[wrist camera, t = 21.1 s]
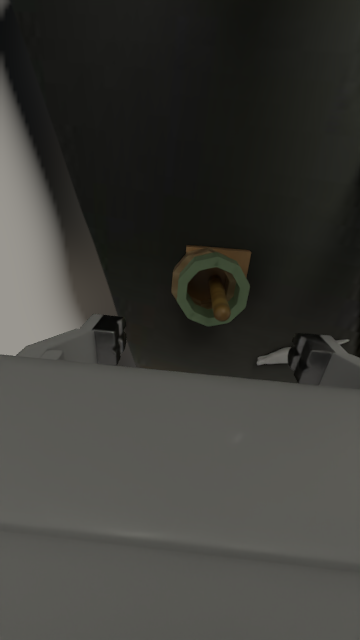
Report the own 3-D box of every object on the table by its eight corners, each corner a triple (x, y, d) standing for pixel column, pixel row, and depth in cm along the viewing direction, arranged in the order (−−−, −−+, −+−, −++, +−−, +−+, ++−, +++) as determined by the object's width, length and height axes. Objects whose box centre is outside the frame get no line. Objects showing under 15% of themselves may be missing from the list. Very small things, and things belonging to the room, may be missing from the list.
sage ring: (181, 248, 31) (180, 253, 28) (250, 255, 31) (256, 260, 28) (176, 314, 35) (174, 323, 32) (237, 320, 35) (240, 329, 32)
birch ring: (176, 243, 34) (174, 247, 31) (239, 250, 34) (243, 255, 31) (171, 305, 38) (169, 312, 35) (227, 311, 38) (230, 319, 35)
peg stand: (186, 245, 35) (181, 268, 23) (249, 250, 35) (278, 276, 22) (182, 302, 39) (175, 349, 27) (238, 307, 39) (258, 357, 26)
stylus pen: (256, 365, 43) (258, 371, 42) (253, 353, 42) (255, 359, 41) (346, 343, 40) (353, 350, 39) (346, 330, 39) (352, 336, 38)
